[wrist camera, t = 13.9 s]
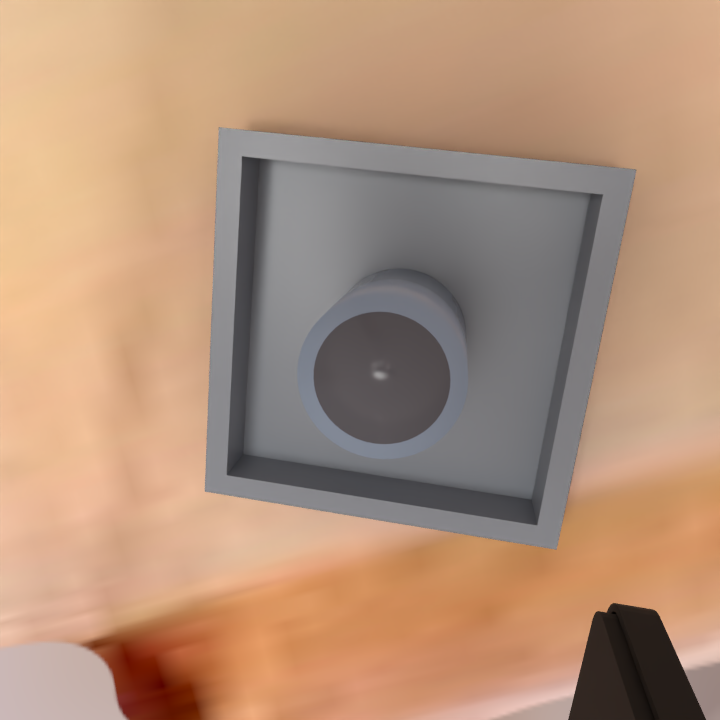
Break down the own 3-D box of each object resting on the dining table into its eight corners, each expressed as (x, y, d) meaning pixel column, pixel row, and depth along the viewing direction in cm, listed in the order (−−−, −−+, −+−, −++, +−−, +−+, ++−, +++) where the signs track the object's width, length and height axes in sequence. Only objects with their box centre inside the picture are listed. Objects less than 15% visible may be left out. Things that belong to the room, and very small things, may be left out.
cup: (339, 260, 29) (303, 284, 23) (475, 276, 29) (480, 306, 22) (327, 388, 31) (291, 446, 24) (456, 407, 30) (455, 471, 24)
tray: (242, 132, 29) (218, 127, 26) (617, 170, 27) (636, 169, 24) (226, 464, 33) (204, 491, 31) (547, 515, 32) (556, 549, 29)
